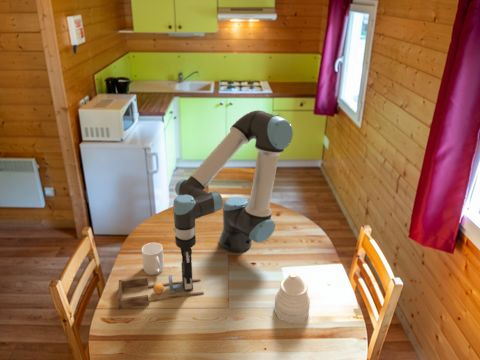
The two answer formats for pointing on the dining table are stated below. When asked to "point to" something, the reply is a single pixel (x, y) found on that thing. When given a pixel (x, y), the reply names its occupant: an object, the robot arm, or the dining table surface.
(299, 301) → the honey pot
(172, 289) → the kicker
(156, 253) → the mug
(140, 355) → the dining table surface
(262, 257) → the dining table surface
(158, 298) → the lane
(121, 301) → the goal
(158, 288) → the ball
